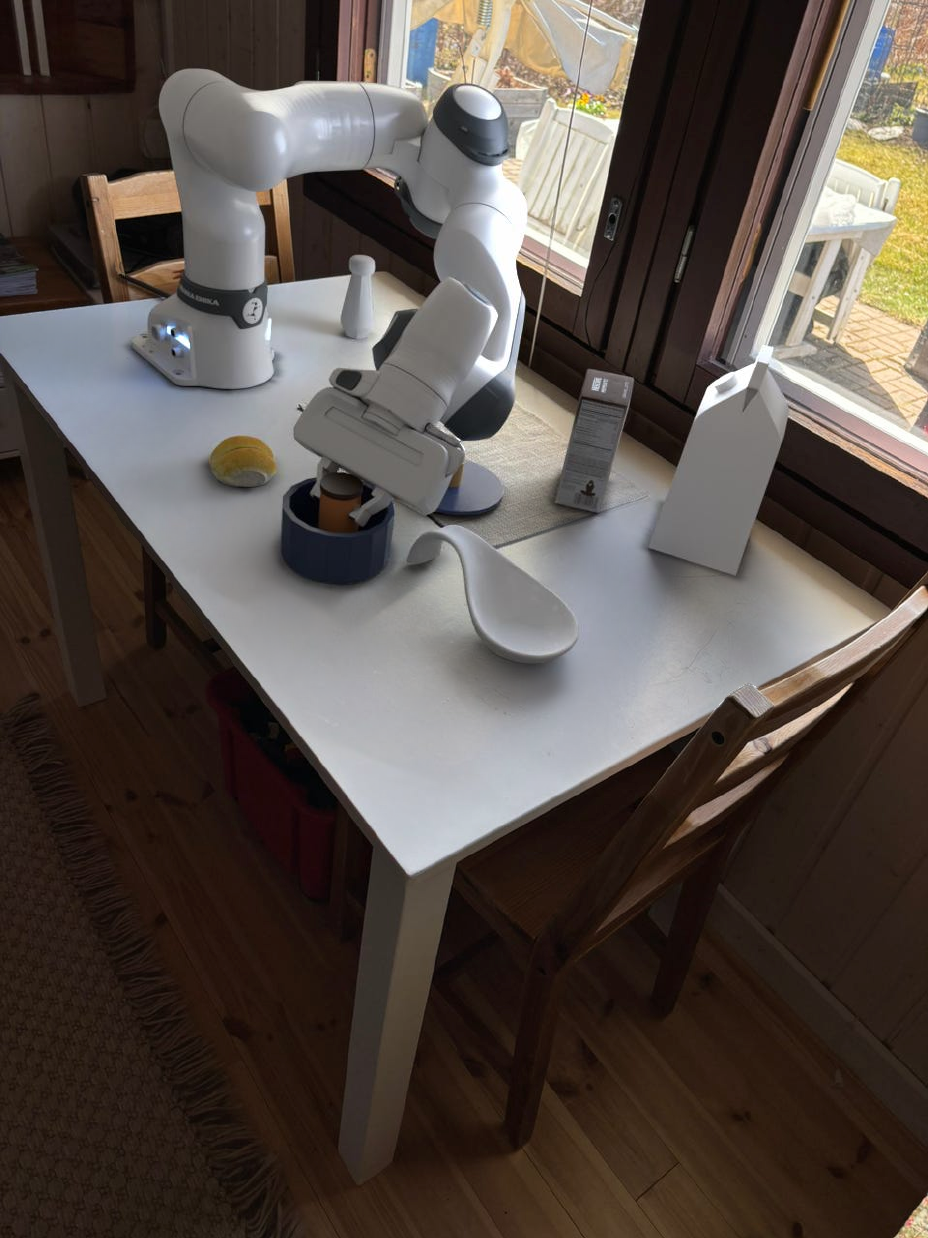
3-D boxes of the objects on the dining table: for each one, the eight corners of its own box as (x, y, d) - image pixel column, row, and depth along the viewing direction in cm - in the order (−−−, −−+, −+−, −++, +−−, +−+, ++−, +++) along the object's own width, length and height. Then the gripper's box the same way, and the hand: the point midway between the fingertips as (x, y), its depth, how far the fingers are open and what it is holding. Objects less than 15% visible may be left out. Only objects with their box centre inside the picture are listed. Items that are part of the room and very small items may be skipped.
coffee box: (561, 471, 135) (587, 365, 125) (605, 482, 135) (635, 376, 125) (553, 503, 128) (580, 394, 118) (600, 514, 127) (630, 405, 118)
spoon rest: (593, 656, 104) (609, 605, 100) (515, 695, 97) (529, 642, 93) (456, 546, 117) (464, 496, 112) (378, 573, 110) (384, 522, 105)
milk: (735, 575, 121) (811, 386, 105) (648, 547, 123) (709, 357, 107) (746, 530, 130) (818, 350, 114) (664, 505, 132) (724, 324, 116)
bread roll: (269, 452, 127) (270, 425, 125) (279, 488, 121) (280, 460, 118) (206, 453, 125) (205, 426, 122) (212, 489, 118) (212, 461, 116)
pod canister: (307, 539, 110) (310, 481, 105) (336, 524, 114) (340, 467, 109) (338, 557, 108) (342, 499, 104) (366, 541, 112) (372, 484, 107)
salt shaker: (339, 325, 164) (344, 248, 156) (372, 328, 165) (379, 252, 157) (339, 339, 159) (345, 261, 151) (373, 342, 160) (381, 265, 152)
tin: (258, 548, 110) (258, 500, 106) (333, 510, 119) (337, 464, 115) (337, 599, 105) (341, 550, 101) (410, 555, 114) (417, 509, 110)
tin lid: (377, 486, 125) (381, 454, 122) (443, 453, 134) (447, 423, 131) (459, 531, 119) (465, 500, 116) (522, 494, 129) (528, 464, 126)
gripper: (481, 456, 107) (415, 560, 107) (348, 388, 115) (286, 484, 115) (463, 433, 101) (393, 542, 101) (324, 362, 110) (259, 463, 109)
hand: (335, 510), depth 108 cm, fingers closed on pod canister, 4 cm apart
